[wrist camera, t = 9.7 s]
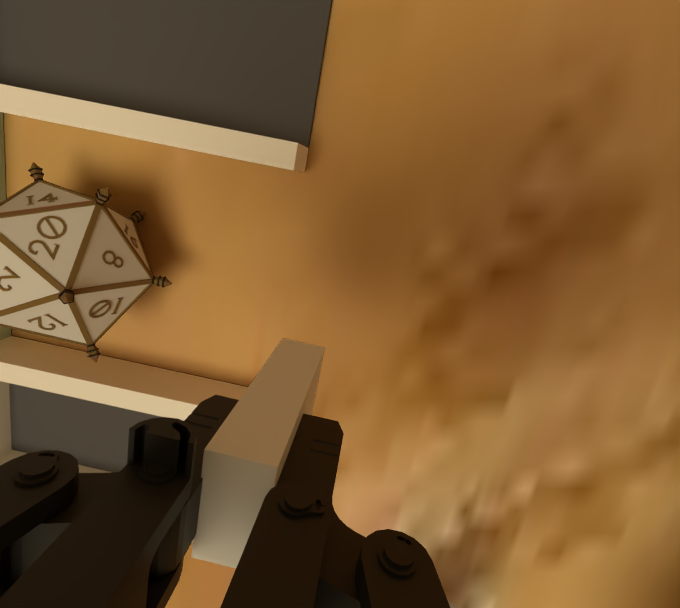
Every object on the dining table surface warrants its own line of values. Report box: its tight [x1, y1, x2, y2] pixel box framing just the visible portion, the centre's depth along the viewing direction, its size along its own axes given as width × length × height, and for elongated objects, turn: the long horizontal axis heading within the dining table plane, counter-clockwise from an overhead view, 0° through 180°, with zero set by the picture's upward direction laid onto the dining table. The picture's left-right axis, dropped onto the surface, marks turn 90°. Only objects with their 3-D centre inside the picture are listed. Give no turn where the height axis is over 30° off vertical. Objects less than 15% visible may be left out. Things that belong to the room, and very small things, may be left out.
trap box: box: [0, 84, 309, 542], centre depth 23 cm, size 18×32×3 cm, turn 170°
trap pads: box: [0, 0, 332, 472], centre depth 24 cm, size 16×29×1 cm, turn 170°
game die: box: [0, 162, 172, 363], centre depth 20 cm, size 9×8×10 cm
